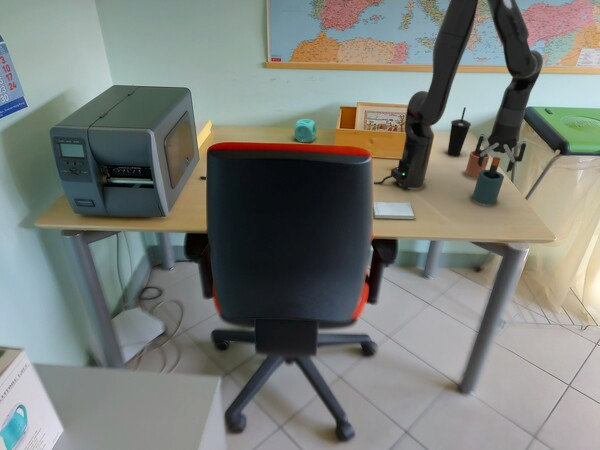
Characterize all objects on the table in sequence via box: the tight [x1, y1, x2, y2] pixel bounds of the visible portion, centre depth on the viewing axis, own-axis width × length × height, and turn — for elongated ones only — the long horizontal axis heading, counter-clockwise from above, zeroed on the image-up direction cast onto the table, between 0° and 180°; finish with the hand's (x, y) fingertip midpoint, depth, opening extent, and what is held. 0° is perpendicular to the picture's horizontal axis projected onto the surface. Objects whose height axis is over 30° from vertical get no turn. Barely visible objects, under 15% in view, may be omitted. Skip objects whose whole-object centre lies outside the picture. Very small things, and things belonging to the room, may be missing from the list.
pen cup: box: [464, 150, 490, 179], centre depth 153 cm, size 7×7×9 cm
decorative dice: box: [294, 118, 317, 143], centre depth 181 cm, size 8×8×8 cm
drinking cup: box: [447, 107, 472, 157], centre depth 166 cm, size 8×8×20 cm
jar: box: [472, 169, 505, 205], centre depth 137 cm, size 8×8×10 cm
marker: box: [487, 156, 501, 179], centre depth 135 cm, size 2×2×15 cm
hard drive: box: [372, 201, 415, 220], centre depth 133 cm, size 2×8×12 cm
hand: (493, 168), depth 133 cm, fingers open, 8 cm apart
